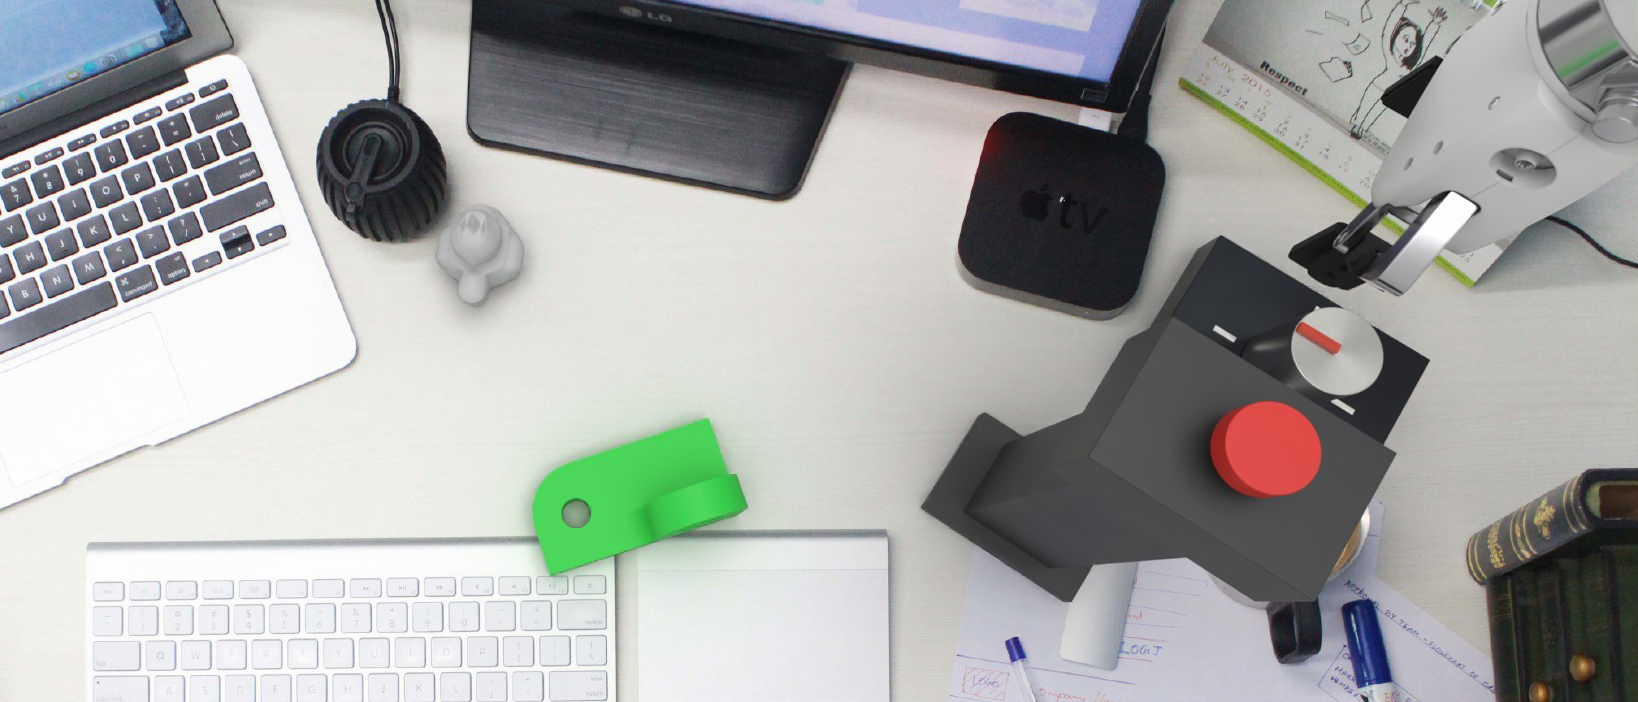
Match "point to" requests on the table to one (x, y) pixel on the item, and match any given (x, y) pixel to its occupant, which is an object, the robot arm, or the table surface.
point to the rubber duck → (480, 252)
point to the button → (1266, 449)
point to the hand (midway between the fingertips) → (1363, 189)
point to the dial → (1320, 354)
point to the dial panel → (1254, 296)
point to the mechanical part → (636, 496)
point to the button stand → (1158, 479)
